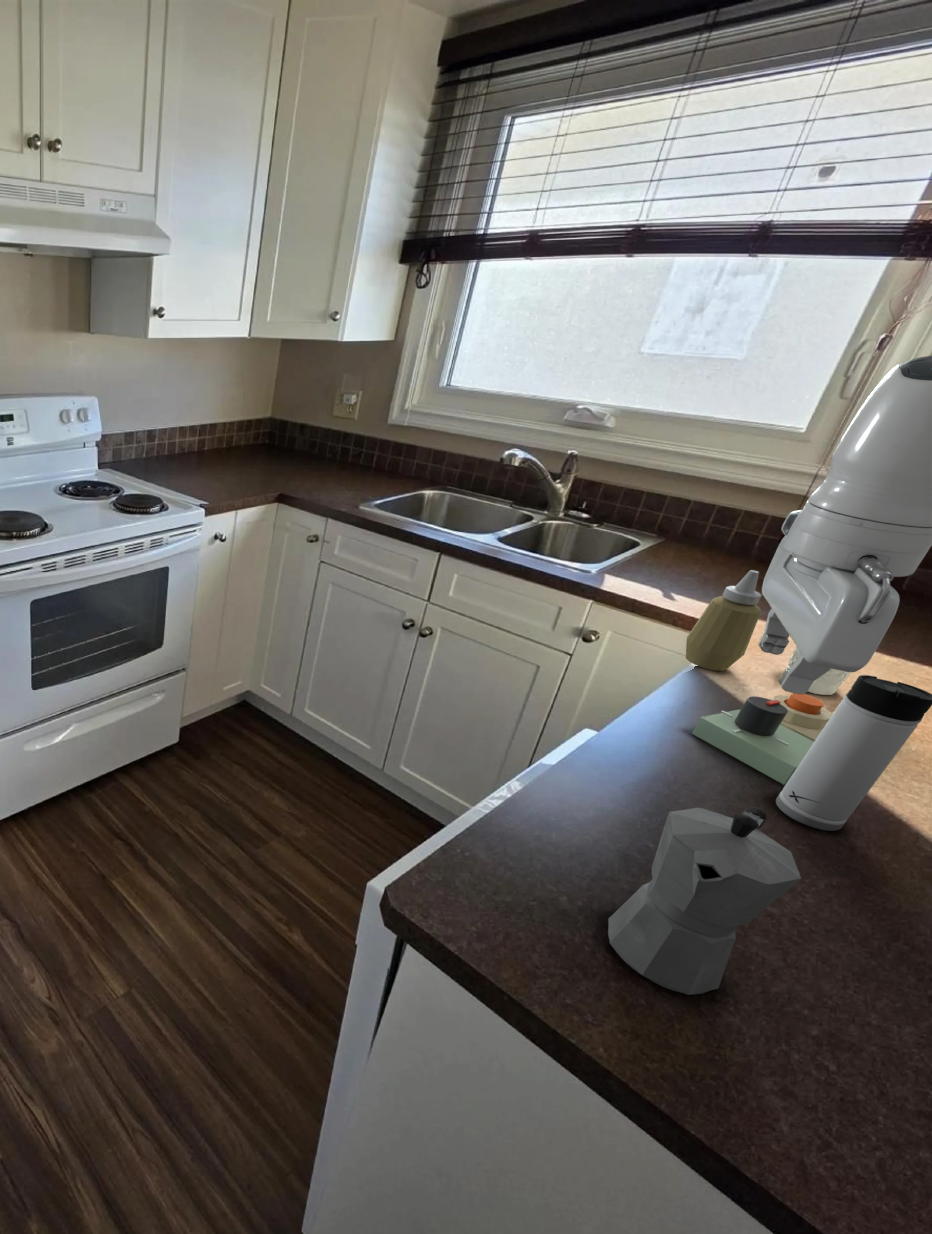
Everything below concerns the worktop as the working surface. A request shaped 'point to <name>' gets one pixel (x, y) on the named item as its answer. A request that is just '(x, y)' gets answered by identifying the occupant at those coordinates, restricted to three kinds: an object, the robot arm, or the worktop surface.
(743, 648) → the squeeze bottle
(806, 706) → the power button
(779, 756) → the dial panel
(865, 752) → the travel mug
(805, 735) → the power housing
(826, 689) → the white cup
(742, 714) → the timer dial
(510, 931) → the worktop surface
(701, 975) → the coffeepot
